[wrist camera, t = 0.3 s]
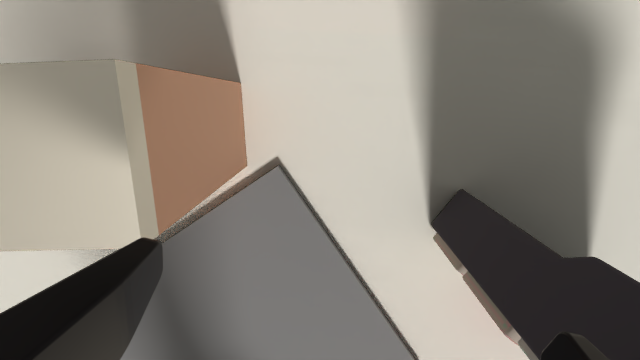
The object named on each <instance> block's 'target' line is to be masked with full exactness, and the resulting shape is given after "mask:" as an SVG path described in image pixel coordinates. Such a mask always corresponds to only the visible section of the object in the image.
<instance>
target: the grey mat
mask: <svg viewBox="0 0 640 360" xmlns="http://www.w3.org/2000/svg"><path fill="white" fill-rule="evenodd" d="M162 246H163V272H162V276H161V278H160V280H159V283H158V285H157V287H156V289H155V291H154V293H153V295H152V297H151V300H150V302H149V304H148V306H147V308H146V310H145V312H144V315H143V317H142V319H141V321H140V323H139V325H138V327H137V330H136V332H135V334H134V336H133V338H132V340H131V342H130V344H129V345H128V347H127V349H126V351H125V352H124V354H123V356H122V358H121V359H120V360H416V359H415V358H414V356H413V355H412V354H411V352H410V351H409V349H408V348H407V346H406V345H405V344H404V342H403V341H402V339H401V338H400V336H399V335H398V334H397V332H396V331H395V329H394V328H393V327H392V325H391V324H390V322H389V321H388V319H387V318H386V317H385V315H384V314H383V312H382V311H381V309H380V308H379V307H378V305H377V304H376V302H375V301H374V299H373V298H372V297H371V295H370V294H369V292H368V291H367V289H366V288H365V287H364V285H363V284H362V282H361V281H360V279H359V278H358V277H357V275H356V274H355V272H354V271H353V270H352V268H351V267H350V265H349V264H348V262H347V261H346V260H345V258H344V257H343V255H342V254H341V252H340V251H339V250H338V248H337V247H336V245H335V244H334V242H333V241H332V240H331V238H330V237H329V235H328V234H327V232H326V231H325V230H324V228H323V227H322V225H321V224H320V223H319V221H318V220H317V218H316V217H315V215H314V214H313V213H312V211H311V210H310V208H309V207H308V205H307V204H306V203H305V201H304V200H303V198H302V197H301V195H300V194H299V193H298V191H297V190H296V188H295V187H294V185H293V184H292V183H291V181H290V180H289V178H288V177H287V175H286V174H285V173H284V171H283V170H282V168H281V167H280V166H279V165H278V166H277V167H275V168H274V169H272V170H271V171H269V172H268V173H266V174H265V175H263V176H262V177H260V178H259V179H257V180H256V181H254V182H253V183H251V184H250V185H248V186H247V187H245V188H244V189H242V190H241V191H239V192H238V193H236V194H235V195H233V196H232V197H230V198H229V199H227V200H226V201H224V202H223V203H221V204H220V205H218V206H217V207H215V208H214V209H212V210H211V211H209V212H208V213H206V214H205V215H204V216H202V217H201V218H199V219H198V220H196V221H195V222H193V223H192V224H190V225H189V226H187V227H186V228H184V229H183V230H181V231H180V232H178V233H177V234H175V235H174V236H172V237H171V238H169V239H168V240H166V241H165V242H163V243H162Z"/></svg>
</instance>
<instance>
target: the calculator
mask: <svg viewBox="0 0 640 360" xmlns="http://www.w3.org/2000/svg"><path fill="white" fill-rule="evenodd" d="M432 227H433V228H434V229H435V230H436V232H437V233H436V235H435V236H434V237H433V239H434V240H435V242H436V243H437V244H438V246H439V247H440V248H441V250H442V251H443V252H444V254H445V255H446V257H447V258H448V259H449V261H450V262H451V263H452V265H453V266H454V267H455V269H456V270H457V271H458V272H460V273H461V274H462V275H463V280H464V281H465V282H466V284H467V285H468V286H469V288H470V289H471V290H472V292H473V293H474V295H475V296H476V297H477V299H478V300H479V301H480V303H481V304H482V305H483V307H484V308H485V309H486V311H487V312H488V314H489V315H490V316H491V318H492V319H493V320H494V322H495V323H496V324H497V326H498V327H499V328H500V330H501V331H502V332H503V333H504V335H505V336H506V337H508V338H509V339H510V340H512V341H513V342H514V343H516V344H517V345H518V346H520V348H521V349H522V350H523V351H524V353H525V354H526V355H527V357H528V358H529V359H530V360H540V358H541V354H542V351H543V350H544V349H545V348H546V347H547V345H548V344H549V343H550V342H551V341H552V340H553V339H554V337H555V336H556V335H557V334H558V333H560V332H562V331H566V332H571V333H575V334H579V335H582V336H583V337H585V338H586V339H587V340H588V341H589V342H591V343H592V344H593V345H594V346H595V347H596V348H597V349H598V350H599V351H600V352H602V353H603V354H604V355H605V356H606V357H607V358H608V359H609V360H640V283H639V282H638V281H636V280H634V279H633V278H631V277H629V276H627V275H626V274H624V273H622V272H621V271H619V270H617V269H616V268H614V267H612V266H611V265H609V264H607V263H605V262H604V261H602V260H600V259H598V258H595V257H576V258H563V257H562V256H560V255H559V254H557V253H556V252H554V251H553V250H551V249H550V248H548V247H547V246H545V245H544V244H542V243H541V242H539V241H538V240H536V239H535V238H533V237H532V236H530V235H529V234H528V233H526V232H525V231H523V230H522V229H520V228H519V227H517V226H516V225H514V224H513V223H511V222H510V221H508V220H507V219H506V218H504V217H503V216H501V215H500V214H498V213H497V212H495V211H494V210H492V209H491V208H489V207H488V206H486V205H485V204H484V203H482V202H481V201H479V200H478V199H476V198H475V197H473V196H472V195H470V194H469V193H467V192H466V191H464V190H463V189H460V190H459V191H458V192H457V193H456V195H455V196H454V197H453V198H452V199H451V201H450V202H449V203H448V204H447V205H446V207H445V208H444V209H443V210H442V211H441V213H440V214H439V215H438V216H437V217H436V219H435V220H434V221H433V222H432Z"/></svg>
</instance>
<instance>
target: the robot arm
mask: <svg viewBox="0 0 640 360" xmlns="http://www.w3.org/2000/svg"><path fill="white" fill-rule="evenodd" d="M162 272H163V246H162V243H161V242H160V241H159V240H154V239H150V238H145V237H143V238H139V239H137V240H136V241H134V242H132V243H130V244H128V245H126V246H124V247H123V248H121V249H119V250H117V251H115V252H113V253H111V254H110V255H108V256H106V257H104V258H102V259H100V260H98V261H97V262H95V263H93V264H91V265H89V266H87V267H85V268H84V269H82V270H80V271H78V272H76V273H74V274H72V275H71V276H69V277H67V278H65V279H63V280H61V281H59V282H58V283H56V284H54V285H52V286H50V287H48V288H46V289H45V290H43V291H41V292H39V293H37V294H35V295H33V296H32V297H30V298H28V299H26V300H24V301H22V302H21V303H19V304H17V305H15V306H13V307H11V308H9V309H8V310H6V311H4V312H2V313H0V360H120V359H121V358H122V356H123V354H124V352H125V351H126V349H127V347H128V345H129V344H130V342H131V340H132V338H133V336H134V334H135V332H136V330H137V327H138V325H139V323H140V321H141V319H142V317H143V315H144V312H145V310H146V308H147V306H148V304H149V302H150V300H151V297H152V295H153V293H154V291H155V289H156V287H157V285H158V283H159V280H160V278H161V276H162ZM540 360H609V359H608V358H607V357H606V356H605V355H604V354H603V353H602V352H600V351H599V350H598V349H597V348H596V347H595V346H594V345H593V344H592V343H591V342H589V341H588V340H587V339H586V338H585V337H583V336H582V335H579V334H575V333H571V332H566V331H562V332H560V333H558V334H557V335H556V336H555V337H554V339H553V340H552V341H551V342H550V343H549V344H548V345H547V347H546V348H545V349H544V350H543V351H542V354H541V358H540Z"/></svg>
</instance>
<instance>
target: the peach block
mask: <svg viewBox="0 0 640 360" xmlns="http://www.w3.org/2000/svg"><path fill="white" fill-rule="evenodd" d="M246 166H247V158H246V145H245V132H244V119H243V106H242V93H241V83H238V82H233V81H227V80H222V79H217V78H212V77H206V76H201V75H196V74H190V73H185V72H180V71H174V70H169V69H164V68H159V67H153V66H148V65H143V64H137V63H132V62H127V61H121V60H116V59H107V60H81V61H55V62H30V63H4V64H0V251H42V250H91V249H121V248H123V247H124V246H126V245H128V244H130V243H132V242H134V241H136V240H137V239H139V238H143V237H145V238H150V239H155V238H156V237H157V236H159V235H160V234H161V233H162V232H164V231H165V230H166V229H168V228H169V227H170V226H171V225H173V224H174V223H175V222H176V221H178V220H179V219H180V218H182V217H183V216H184V215H185V214H187V213H188V212H189V211H190V210H192V209H193V208H194V207H195V206H197V205H198V204H199V203H201V202H202V201H203V200H204V199H206V198H207V197H208V196H209V195H211V194H212V193H213V192H215V191H216V190H217V189H218V188H220V187H221V186H222V185H223V184H225V183H226V182H227V181H228V180H230V179H231V178H232V177H234V176H235V175H236V174H237V173H239V172H240V171H241V170H242V169H244V168H245V167H246Z"/></svg>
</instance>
